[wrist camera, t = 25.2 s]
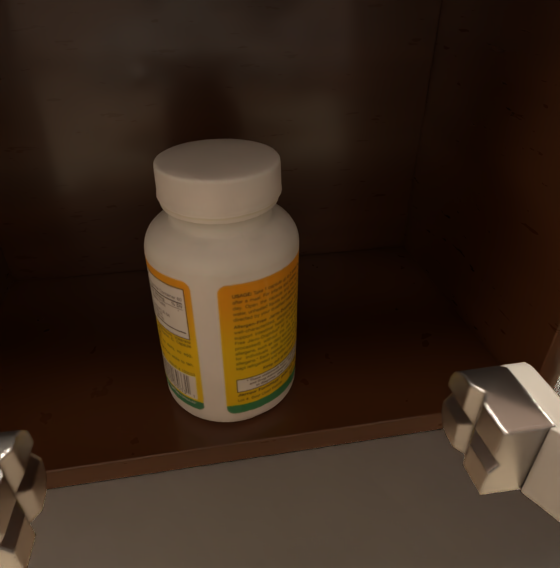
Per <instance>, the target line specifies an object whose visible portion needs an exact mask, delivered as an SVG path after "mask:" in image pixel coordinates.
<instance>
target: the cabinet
mask: <svg viewBox="0 0 560 568" xmlns="http://www.w3.org/2000/svg"><path fill="white" fill-rule="evenodd" d="M207 139H241V140H248V141H254V142H259V143H262V144H265V145H267V146H269V147H271V148H273V149H274V150H275V151H276V152H277V153H278V154H279V156H280V161H281V185H282V191H281V194H280V196H279V198H278V201H277V203H276V204H277V205H279V206H280V207H282V208H283V209H284V210H285V211H286V212H287V213H288V214H289V215H290V216H291V218H292V219H293V221H294V222H295V224H296V227H297V230H298V234H299V262H298V298H297V332H296V359H295V375H294V380H293V383H292V386H291V388H290V390H289V391H288V393H287V394H286V396H285V397H284V398H283V400H281V401H280V402H279V403H278V404H277V405H276V406H274V407H273V408H271V409H270V410H268V411H266V412H264V413H262V414H260V415H257V416H255V417H253V418H250V419H246V420H242V421H236V422H216V421H210V420H205V419H202V418H199V417H197V416H195V415H193V414H191V413H189V412H188V411H186V410H185V409H184V408H182V407H181V406H180V405H179V404H178V403H177V401H176V400H175V399H174V397H173V396H172V394H171V392H170V389H169V386H168V382H167V377H166V373H165V368H164V361H163V356H162V349H161V344H160V338H159V332H158V326H157V321H156V314H155V310H154V304H153V299H152V293H151V287H150V282H149V276H148V270H147V264H146V258H145V253H144V239H145V234H146V231H147V229H148V227H149V225H150V223H151V222H152V220H153V219H154V218H155V217H156V216H157V215H158V214H159V213H160V212H161V211H162V210H163V209H162V207H161V205H160V202H159V201H158V199H157V197H156V184H155V176H154V168H153V162H154V159H155V158H156V156H157V155H158V154H160V153H161V152H163V151H165V150H167V149H169V148H171V147H173V146H176V145H179V144H183V143H187V142H192V141H199V140H207ZM521 362H526V363H527V364H529V365H531V366H532V367H533V368H534V369H535V370H536V371H537V372H538V373H539V374H540V376H541V377H542V378H543V379H544V380H545V381H546V382H547V383H548V384H549V386H550V387H551V388H552V389H554V387H555V385H556V382H557V380H558V378H559V376H560V0H0V432H6V431H15V430H28V431H29V433H30V435H31V437H32V439H33V441H34V444H33V447H32V450H31V453H33V454H35V455H37V456H39V457H41V459H42V461H43V463H44V466H45V470H46V475H47V489H52V488H58V487H65V486H71V485H78V484H84V483H91V482H97V481H104V480H110V479H117V478H123V477H130V476H137V475H143V474H150V473H156V472H163V471H169V470H176V469H182V468H189V467H195V466H202V465H208V464H215V463H221V462H228V461H234V460H241V459H248V458H254V457H261V456H267V455H274V454H280V453H287V452H293V451H300V450H306V449H313V448H319V447H326V446H332V445H339V444H345V443H352V442H358V441H365V440H372V439H378V438H385V437H391V436H398V435H404V434H411V433H417V432H424V431H430V430H437V429H443V425H442V417H441V410H442V406H443V401H444V400H445V399H446V398H447V397H448V396H449V395H450V394H451V393H452V391H451V390H450V388H449V387H448V383H449V380H450V376H451V375H452V374H453V373H454V372H456V371H463V370H470V369H477V368H484V367H491V366H501V365H506V364H514V363H521Z"/></svg>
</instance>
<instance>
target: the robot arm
mask: <svg viewBox="0 0 560 568" xmlns="http://www.w3.org/2000/svg"><path fill="white" fill-rule="evenodd" d="M448 387H449V388H450V390H451V391H452V393H451V394H450V395H449V396H448V397H447V398H446V399H445V400H444V401H443V406H442V410H441V417H442V425H443V428H444V431H445V434H446V436H447V438H448V440H449V442H450V444H451V445H452V447H454V448H455V449H457V450H458V451H460V452H461V453H463V454H464V461H463V466H464V468H465V470H466V472H467V473H468V475H469V477H470V478H471V480H472V482H473V484H474V485H475V487H476V489H477V491H478V492H479V494H480V495H484V494H491V493H498V492H505V491H511V490H518V489H521V492H522V493H523V494H524V495H526V496H527V497H528V498H529V499H531V500H532V501H533V502H535V503H536V504H537V505H538V506H540V507H541V508H542V509H543V510H545V511H546V512H547V513H548V514H550V515H551V516H552V517H554V518H555V519H556V520H557V521H559V522H560V397H559V396H558V394H557V393H556V392H555V391H554V390H553V389H552V388H551V387H550V386H549V384H548V383H547V382H546V381H545V380H544V379H543V378H542V377H541V376H540V374H539V373H538V372H537V371H536V370H535V369H534V368H533V367H532V366H531V365H529V364H527V363H526V362H521V363H514V364H506V365H501V366H491V367H484V368H477V369H470V370H463V371H456V372H454V373H453V374H452V375H451V376H450V380H449V383H448ZM33 444H34V441H33V439H32V437H31V435H30V433H29V431H28V430H15V431H6V432H0V568H28V564H29V560H30V556H31V552H32V549H33V545H34V541H35V537H36V534H35V532H34V530H33V528H32V526H31V522H32V521H33V520H34V519H35V518H36V517H37V516H38V515H39V514H40V513H41V512H42V510H43V506H44V502H45V498H46V489H47V475H46V470H45V466H44V463H43V461H42V459H41V457H39V456H37V455H35V454H33V453H31V450H32V447H33Z"/></svg>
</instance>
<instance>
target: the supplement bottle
mask: <svg viewBox="0 0 560 568" xmlns="http://www.w3.org/2000/svg"><path fill="white" fill-rule="evenodd" d="M153 168H154V176H155V184H156V197H157V199H158V201H159V202H160V205H161V207H162V209H163V210H162V211H161V212H160V213H159V214H158V215H157V216H156V217H155V218H154V219H153V220H152V222H151V223H150V225H149V227H148V229H147V231H146V234H145V239H144V253H145V258H146V264H147V270H148V276H149V282H150V287H151V293H152V299H153V304H154V310H155V314H156V321H157V326H158V332H159V338H160V344H161V349H162V356H163V361H164V368H165V373H166V377H167V382H168V386H169V389H170V392H171V394H172V396H173V397H174V399H175V400H176V401H177V403H178V404H179V405H180V406H181V407H182V408H184V409H185V410H186V411H188V412H189V413H191V414H193V415H195V416H197V417H199V418H202V419H205V420H210V421H216V422H236V421H242V420H246V419H250V418H253V417H255V416H257V415H260V414H262V413H264V412H266V411H268V410H270V409H271V408H273V407H274V406H276V405H277V404H278V403H279V402H280V401H281V400H283V398H284V397H285V396H286V394H287V393H288V391H289V390H290V388H291V386H292V383H293V380H294V375H295V359H296V332H297V298H298V262H299V234H298V230H297V227H296V224H295V222H294V221H293V219H292V218H291V216H290V215H289V214H288V213H287V212H286V211H285V210H284V209H283V208H282V207H280V206H279V205H277V204H276V203H277V201H278V198H279V196H280V194H281V191H282V185H281V161H280V156H279V154H278V153H277V152H276V151H275V150H274V149H273V148H271V147H269V146H267V145H265V144H262V143H259V142H254V141H248V140H241V139H207V140H199V141H192V142H187V143H183V144H179V145H176V146H173V147H171V148H169V149H167V150H165V151H163V152H161V153H160V154H158V155H157V156H156V158H155V159H154V162H153Z"/></svg>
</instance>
